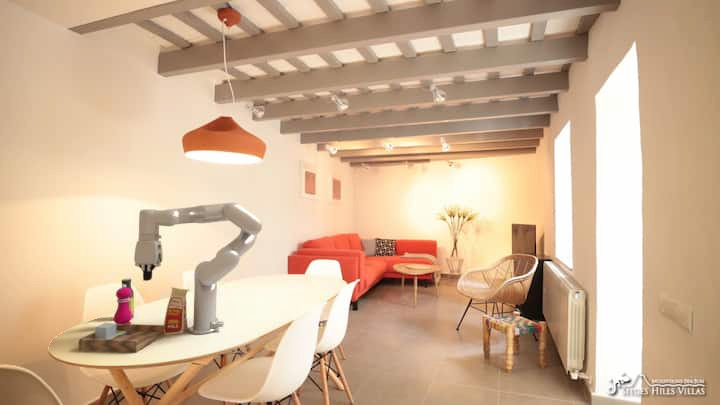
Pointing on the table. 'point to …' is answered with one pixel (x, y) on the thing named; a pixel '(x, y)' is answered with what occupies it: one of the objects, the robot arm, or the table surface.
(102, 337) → the block
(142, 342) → the brown wooden tray
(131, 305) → the sauce bottle
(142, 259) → the robot arm
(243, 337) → the table surface
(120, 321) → the pepper mill
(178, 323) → the paper food bag
